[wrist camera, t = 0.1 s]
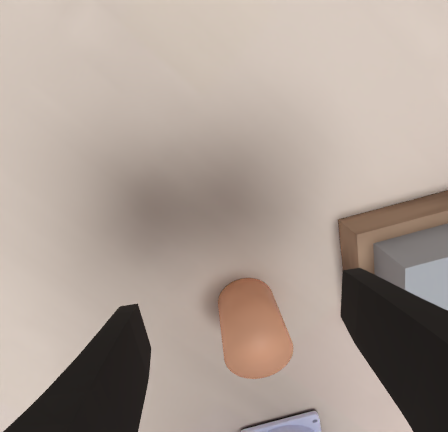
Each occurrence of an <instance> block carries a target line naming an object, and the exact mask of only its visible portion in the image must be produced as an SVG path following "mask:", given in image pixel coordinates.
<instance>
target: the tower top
mask: <svg viewBox="0 0 448 432" xmlns="http://www.w3.org/2000/svg"><path fill="white" fill-rule="evenodd" d="M373 247H374V270H375V275H377V276H379V277H381V278H382V279H384V280H386V281H388V282H390V283H392V284H394V285H396V286H398V287H400V288H402V289H404V290H406V291H408V292H410V293H412V294H414V295H416V296H418V297H420V298H422V299H424V300H426V301H428V302H431V303H433V304H435V305H437V306H439V307H441V308H443V309H445V310H448V223H447V224H443V225H440V226H436V227H432V228H429V229H425V230H421V231H417V232H414V233H410V234H406V235H403V236H399V237H395V238H391V239H388V240H384V241H380V242H377V243H373Z"/></svg>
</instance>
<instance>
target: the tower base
mask: <svg viewBox="0 0 448 432" xmlns="http://www.w3.org/2000/svg"><path fill="white" fill-rule="evenodd" d="M447 223H448V190H447V191H444V192H440V193H436V194H432V195H429V196H425V197H421V198H417V199H414V200H410V201H406V202H402V203H399V204H395V205H391V206H388V207H384V208H380V209H376V210H373V211H369V212H365V213H361V214H358V215H354V216H350V217H346V218H343V219H339V220H338V224H339V234H340V245H341V256H342V266H343V270H348V269H354V268H362V269H364V270H366V271H368V272H370V273H372V274H375V270H374V247H373V243H377V242H380V241H384V240H388V239H391V238H395V237H399V236H403V235H406V234H410V233H414V232H417V231H421V230H425V229H429V228H432V227H436V226H440V225H443V224H447Z"/></svg>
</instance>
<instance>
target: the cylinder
mask: <svg viewBox="0 0 448 432" xmlns="http://www.w3.org/2000/svg"><path fill="white" fill-rule="evenodd" d="M218 308H219V316H220V325H221V334H222V343H223V352H224V360H225V363H226V366H227V367H228V369H229V370H230V371H231V372H233V373H234V374H236V375H238V376H240V377H244V378H250V379H257V378H264V377H267V376H270V375H273V374H275V373H277V372H278V371H280V370H281V369H282V368H284V367H285V366H286V365H287V363H288V362H289V361H290V359H291V357H292V354H293V343H292V341H291V338H290V336H289V333H288V331H287V328H286V326H285V323H284V321H283V318H282V316H281V313H280V311H279V308H278V306H277V304H276V301H275V299H274V296H273V294H272V291H271V289H270V288H269V286H268V285H267V284H265V283H264V282H262V281H260V280H258V279H253V278H243V279H239V280H236V281H234V282H232V283H230V284H229V285H227V286H226V287H225V288H224V289H223V291H222V292H221V294H220V296H219V299H218Z"/></svg>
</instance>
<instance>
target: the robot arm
mask: <svg viewBox="0 0 448 432" xmlns="http://www.w3.org/2000/svg"><path fill="white" fill-rule="evenodd" d="M341 318H342V320H343V322H344V324H345V326H346V328H347V330H348V332H349V333H350V335H351V337H352V339H353V341H354V343H355V344H356V346H357V347H358V349H359V350H360V352H361V353H362V355H363V356H364V358H365V359H366V361H367V362H368V364H369V365H370V367H371V368H372V370H373V371H374V372H375V374H376V375H377V377H378V378H379V380H380V381H381V383H382V384H383V386H384V387H385V389H386V390H387V391H388V393H389V394H390V396H391V397H392V399H393V400H394V402H395V403H396V405H397V406H398V408H399V409H400V411H401V412H402V414H403V415H404V417H405V418H406V420H407V422H408V423H409V425H410V426H411V428H412V430H413V432H448V310H445V309H443V308H441V307H439V306H437V305H435V304H433V303H431V302H428V301H426V300H424V299H422V298H420V297H418V296H416V295H414V294H412V293H410V292H408V291H406V290H404V289H402V288H400V287H398V286H396V285H394V284H392V283H390V282H388V281H386V280H384V279H382V278H381V277H379V276H377V275H375V274H372V273H370V272H368V271H366V270H364V269H362V268H354V269H348V270H343V277H342V299H341ZM150 358H151V346H150V342H149V339H148V336H147V333H146V329H145V326H144V323H143V319H142V316H141V313H140V310H139V306H138V304H133V305H127V306H121V307H119V308H118V309H117V311H116V312H115V313H114V314H113V315H112V316H111V318H110V319H109V320H108V321H107V322H106V324H105V325H104V326H103V327H102V328H101V330H100V331H99V332H98V333H97V334H96V336H95V337H94V338H93V339H92V340H91V341H90V343H89V344H88V345H87V346H86V347H85V348H84V350H83V351H82V352H81V353H80V354H79V355H78V357H77V358H76V359H75V360H74V361H73V362H72V363H71V364H70V365H69V366H68V367H67V369H66V370H65V371H64V372H63V373H62V374H61V375H60V376H59V377H58V378H57V379H56V380H55V382H54V383H53V384H52V385H51V386H50V387H49V388H48V389H47V390H46V391H45V392H44V393H43V394H42V395H41V396H40V397H39V398H38V399H37V400H36V401H35V402H34V403H33V404H32V405H31V406H30V407H29V408H28V409H27V410H26V411H25V412H24V413H23V414H22V415H21V416H20V417H18V418H17V419H16V420H15V421H14V422H13V423H12V424H11V425H10V426H9V427H8V428H7V429H6V430H5V431H4V432H138V429H139V424H140V419H141V414H142V409H143V404H144V400H145V395H146V390H147V384H148V379H149V369H150ZM241 432H322V431H321V425H320V419H319V415H318V413H317V412H316V411H311V412H307V413H303V414H299V415H296V416H292V417H288V418H284V419H280V420H277V421H273V422H269V423H265V424H261V425H258V426H254V427H250V428H246V429H243V430H241Z"/></svg>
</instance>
